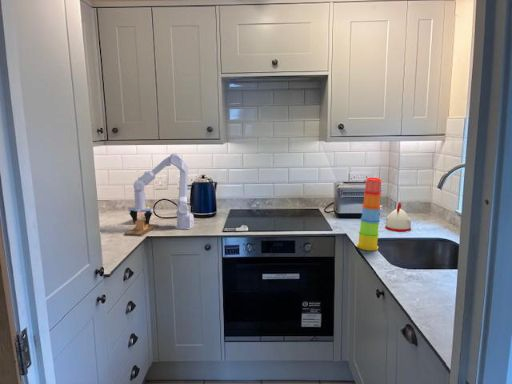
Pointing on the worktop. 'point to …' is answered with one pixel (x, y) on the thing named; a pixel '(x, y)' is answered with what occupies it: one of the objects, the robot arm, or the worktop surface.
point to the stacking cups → (370, 215)
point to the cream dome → (398, 221)
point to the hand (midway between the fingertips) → (141, 223)
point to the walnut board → (141, 232)
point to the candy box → (140, 215)
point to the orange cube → (141, 224)
